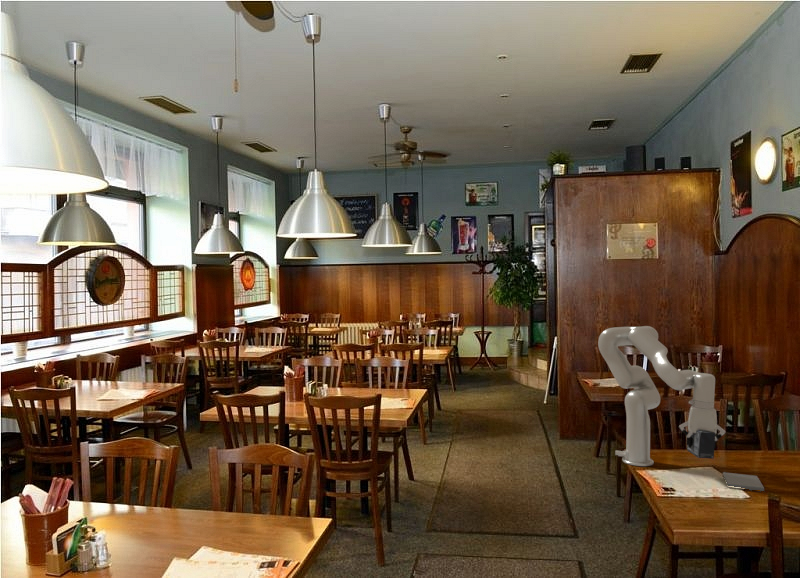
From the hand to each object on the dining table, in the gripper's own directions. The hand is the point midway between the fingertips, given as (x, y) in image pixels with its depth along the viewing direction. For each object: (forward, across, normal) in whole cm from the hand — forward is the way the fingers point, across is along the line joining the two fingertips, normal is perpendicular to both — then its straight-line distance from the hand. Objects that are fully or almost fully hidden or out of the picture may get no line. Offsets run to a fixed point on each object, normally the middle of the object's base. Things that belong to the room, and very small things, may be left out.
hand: (700, 448), depth 243 cm
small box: (+3, 0, 0) cm, 3 cm away
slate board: (+12, +15, -1) cm, 19 cm away
